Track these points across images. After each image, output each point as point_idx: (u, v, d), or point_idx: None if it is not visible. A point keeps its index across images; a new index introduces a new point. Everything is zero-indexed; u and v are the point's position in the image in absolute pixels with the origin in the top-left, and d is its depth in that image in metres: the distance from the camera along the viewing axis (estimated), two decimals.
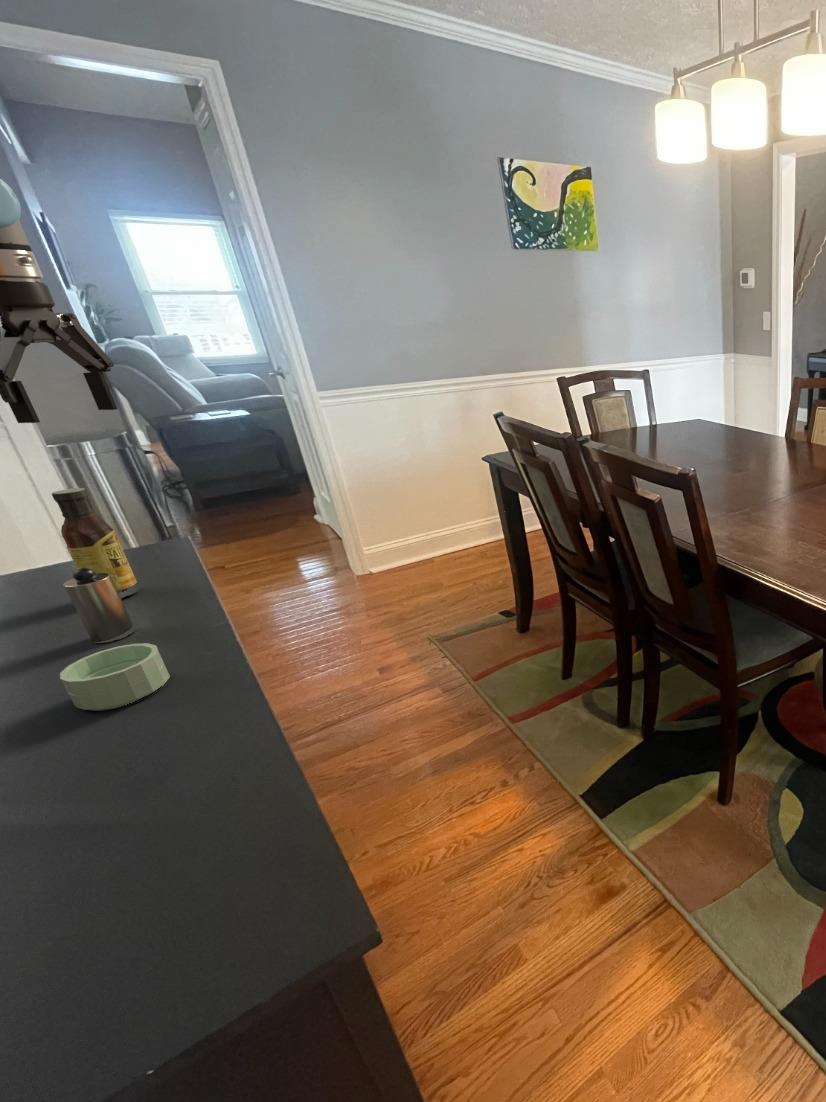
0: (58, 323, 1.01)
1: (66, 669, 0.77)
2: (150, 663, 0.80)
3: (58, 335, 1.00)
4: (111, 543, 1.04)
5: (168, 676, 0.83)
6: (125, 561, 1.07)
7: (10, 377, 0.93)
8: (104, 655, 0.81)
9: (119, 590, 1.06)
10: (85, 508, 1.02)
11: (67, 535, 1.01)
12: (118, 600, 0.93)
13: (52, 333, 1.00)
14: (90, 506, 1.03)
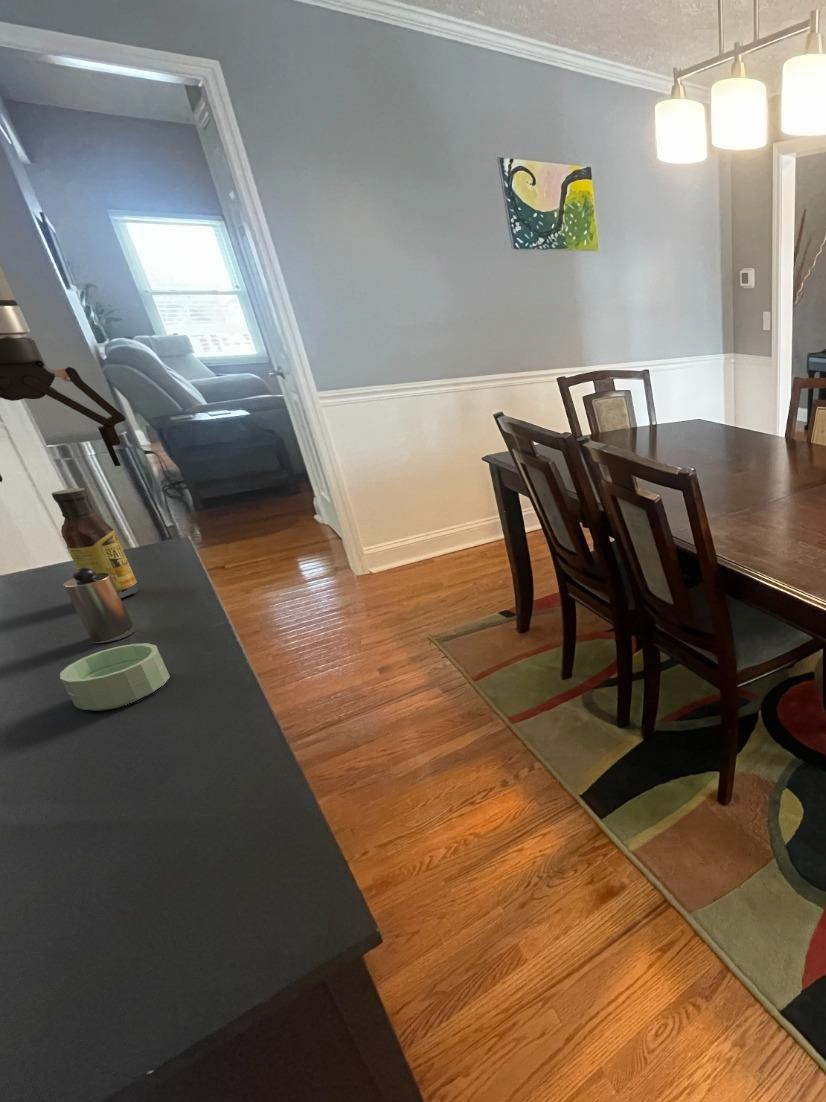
0: (48, 379, 0.95)
1: (66, 669, 0.77)
2: (150, 663, 0.80)
3: (42, 392, 0.95)
4: (111, 543, 1.04)
5: (168, 676, 0.83)
6: (125, 561, 1.07)
7: None
8: (104, 655, 0.81)
9: (119, 590, 1.06)
10: (85, 508, 1.02)
11: (67, 535, 1.01)
12: (118, 600, 0.93)
13: (37, 390, 0.94)
14: (90, 506, 1.03)
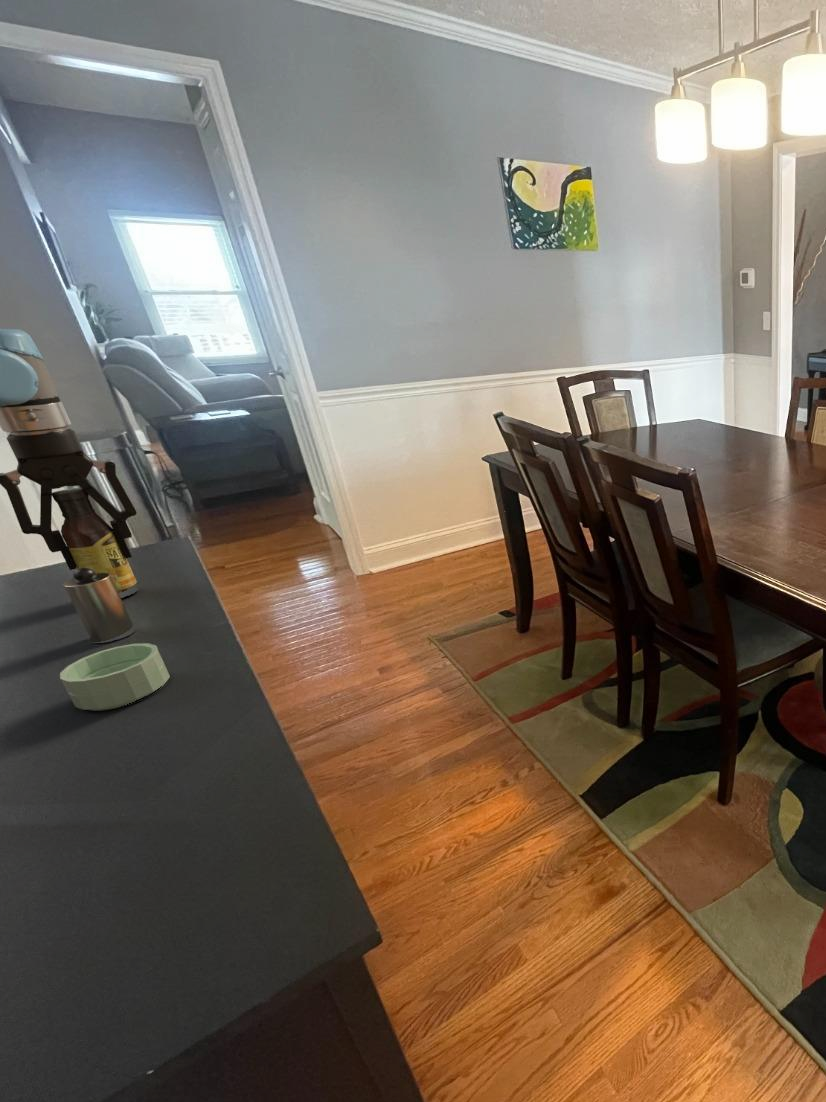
0: (85, 467, 1.01)
1: (66, 669, 0.77)
2: (150, 663, 0.80)
3: (75, 481, 1.00)
4: (111, 543, 1.04)
5: (168, 676, 0.83)
6: (125, 561, 1.07)
7: (45, 531, 0.99)
8: (104, 655, 0.81)
9: (119, 590, 1.06)
10: (85, 508, 1.02)
11: (67, 535, 1.01)
12: (118, 600, 0.93)
13: None
14: (90, 506, 1.03)
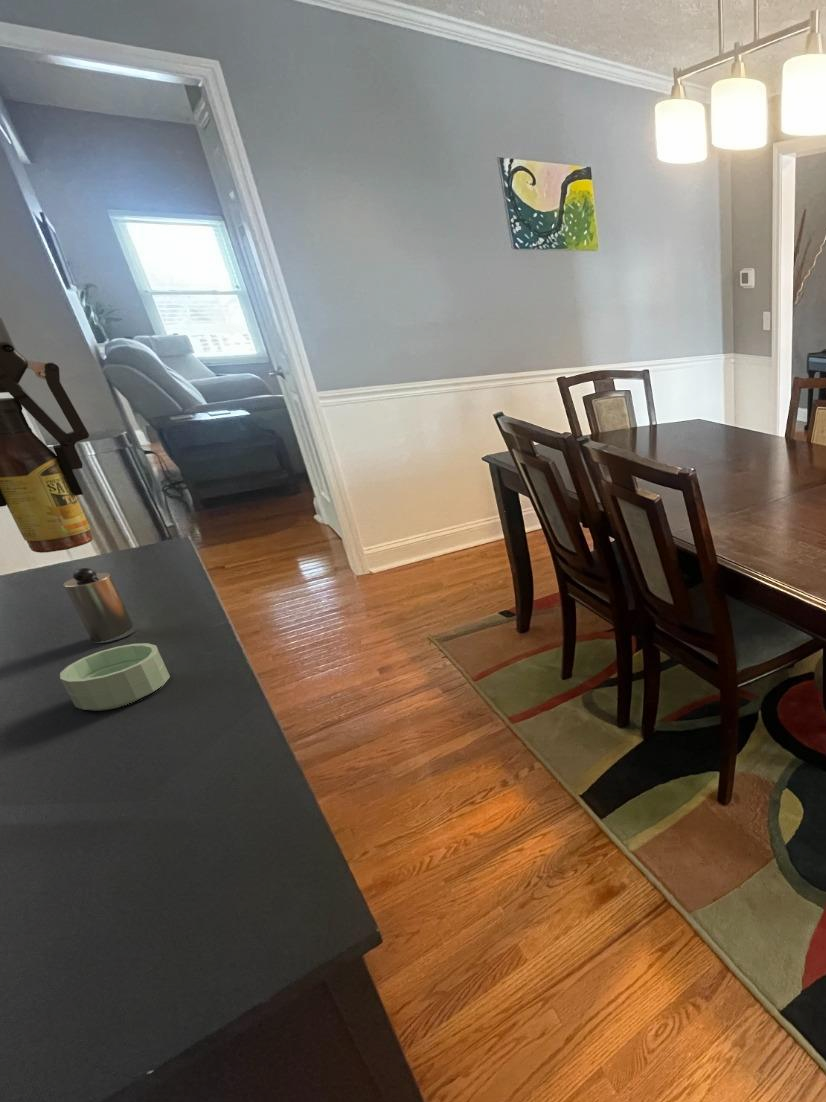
0: (17, 368, 0.75)
1: (66, 669, 0.77)
2: (150, 663, 0.80)
3: (2, 386, 0.74)
4: (54, 473, 0.79)
5: (168, 676, 0.83)
6: (73, 499, 0.81)
7: None
8: (104, 655, 0.81)
9: (65, 537, 0.80)
10: (17, 424, 0.76)
11: None
12: (118, 600, 0.93)
13: None
14: (24, 422, 0.77)
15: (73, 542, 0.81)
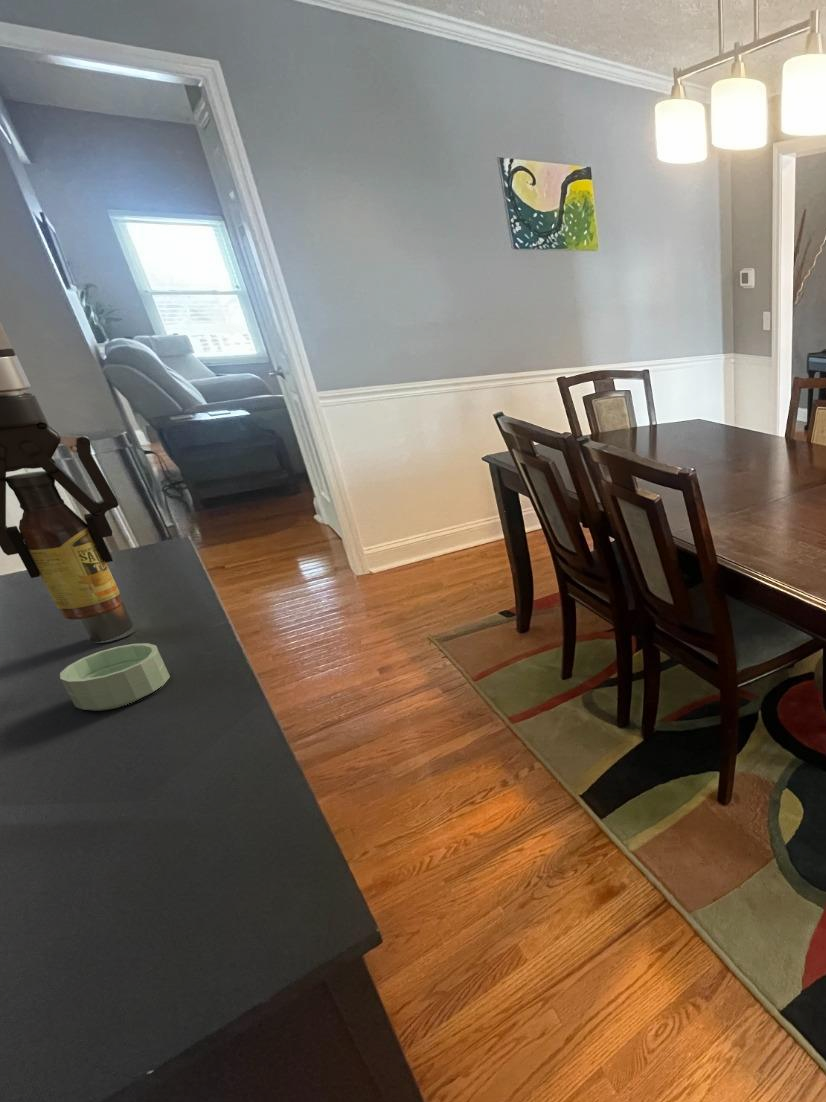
0: (50, 444, 0.77)
1: (66, 669, 0.77)
2: (150, 663, 0.80)
3: (36, 462, 0.76)
4: (85, 543, 0.81)
5: (168, 676, 0.83)
6: (104, 566, 0.83)
7: None
8: (104, 655, 0.81)
9: (96, 604, 0.82)
10: (50, 497, 0.78)
11: (26, 533, 0.77)
12: None
13: None
14: (57, 495, 0.79)
15: (103, 608, 0.83)
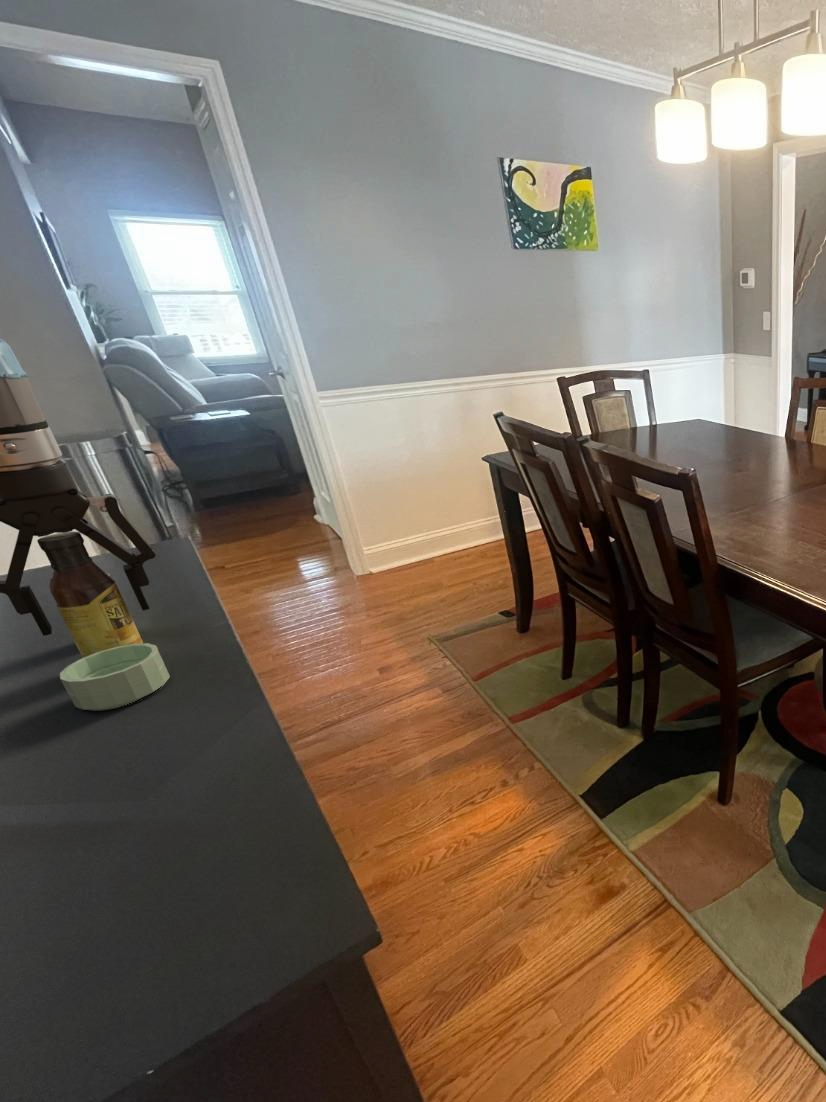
0: (81, 508, 0.80)
1: (66, 669, 0.77)
2: (150, 663, 0.80)
3: (70, 525, 0.80)
4: (112, 599, 0.84)
5: (168, 676, 0.83)
6: (129, 620, 0.87)
7: (11, 589, 0.77)
8: (104, 655, 0.81)
9: None
10: (80, 557, 0.81)
11: (57, 592, 0.80)
12: None
13: None
14: (86, 554, 0.82)
15: None
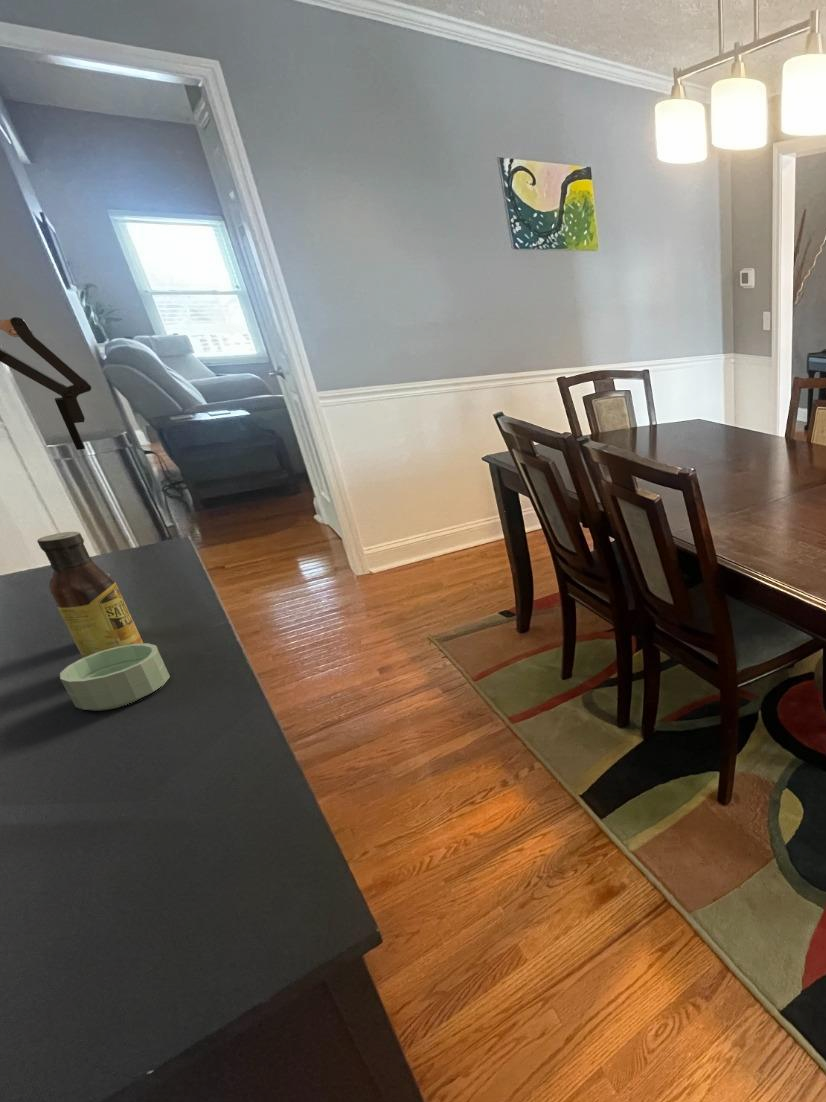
0: None
1: (66, 669, 0.77)
2: (150, 663, 0.80)
3: None
4: (112, 599, 0.84)
5: (168, 676, 0.83)
6: (129, 620, 0.87)
7: None
8: (104, 655, 0.81)
9: None
10: (80, 557, 0.81)
11: (57, 592, 0.80)
12: None
13: None
14: (86, 554, 0.82)
15: None
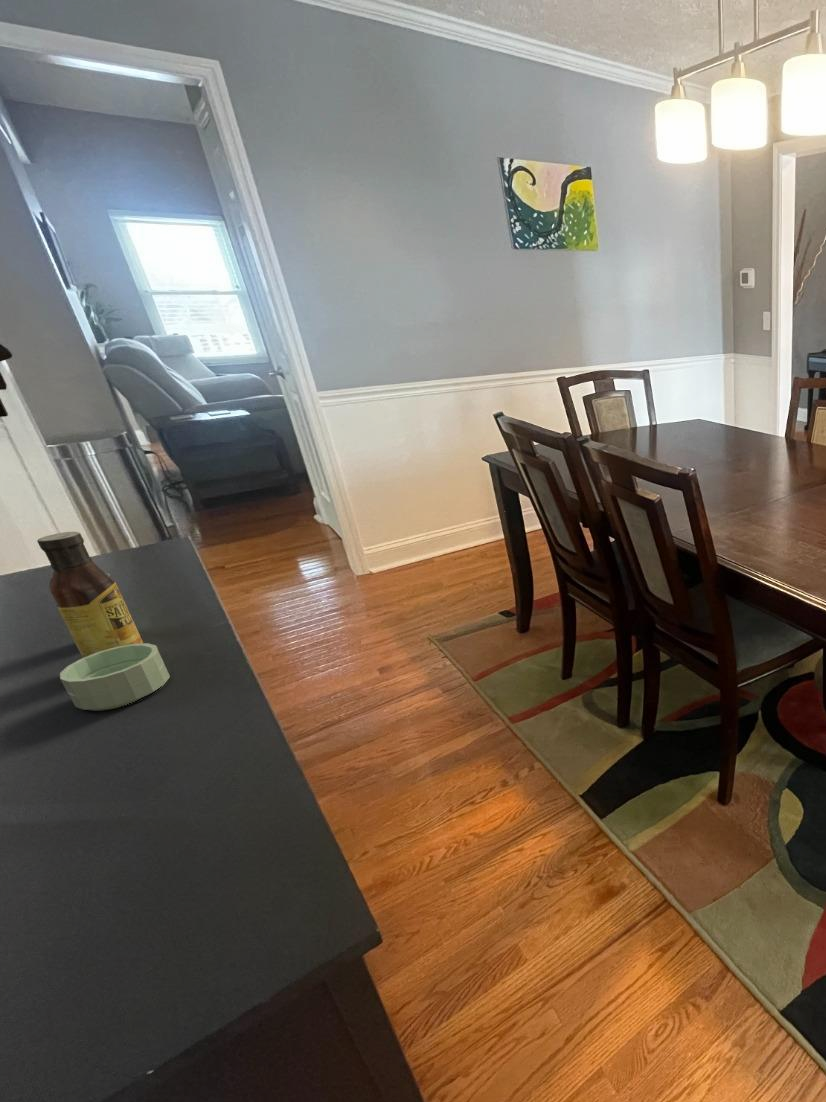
0: None
1: (66, 669, 0.77)
2: (150, 663, 0.80)
3: None
4: (112, 599, 0.84)
5: (168, 676, 0.83)
6: (129, 620, 0.87)
7: None
8: (104, 655, 0.81)
9: None
10: (80, 557, 0.81)
11: (57, 592, 0.80)
12: None
13: None
14: (86, 554, 0.82)
15: None
